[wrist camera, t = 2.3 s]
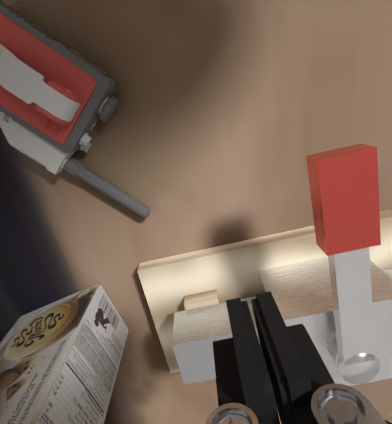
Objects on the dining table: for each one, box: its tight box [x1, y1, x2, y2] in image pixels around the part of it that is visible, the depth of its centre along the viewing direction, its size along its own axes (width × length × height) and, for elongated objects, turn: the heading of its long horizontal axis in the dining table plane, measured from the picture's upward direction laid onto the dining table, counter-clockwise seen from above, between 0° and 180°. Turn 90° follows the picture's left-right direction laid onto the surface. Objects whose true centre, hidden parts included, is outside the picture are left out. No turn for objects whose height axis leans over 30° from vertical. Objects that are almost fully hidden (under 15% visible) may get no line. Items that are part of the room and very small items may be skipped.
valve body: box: [172, 256, 392, 386], centre depth 26 cm, size 7×25×7 cm, turn 103°
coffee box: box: [0, 284, 129, 424], centre depth 24 cm, size 9×6×16 cm
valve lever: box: [306, 144, 381, 384], centre depth 19 cm, size 16×3×2 cm, turn 13°
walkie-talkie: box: [0, 0, 150, 218], centre depth 23 cm, size 9×4×20 cm
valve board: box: [137, 209, 392, 373], centre depth 29 cm, size 12×30×3 cm, turn 103°
